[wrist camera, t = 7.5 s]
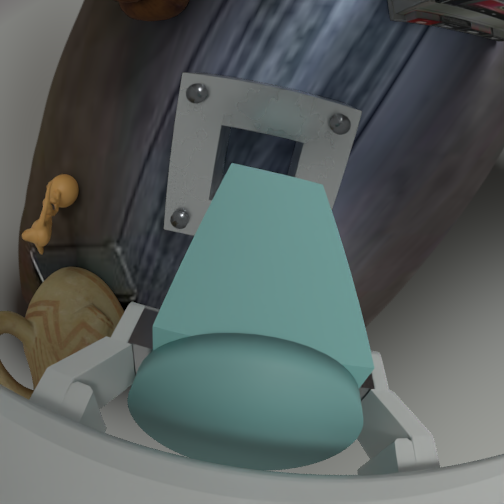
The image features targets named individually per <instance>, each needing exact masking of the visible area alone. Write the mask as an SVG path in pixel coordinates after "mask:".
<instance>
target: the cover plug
mask: <svg viewBox="0 0 504 504" xmlns="http://www.w3.org/2000/svg"><path fill="white" fill-rule="evenodd" d="M373 370H374V364H373V359H372V355H371V350H370V346H369V342H368V337H367V333H366V329H365V325H364V321H363V317H362V313H361V309H360V305H359V301H358V298H357V294H356V290H355V287H354V283H353V279H352V276H351V272H350V269H349V265H348V262H347V258H346V255H345V252H344V248H343V245H342V242H341V239H340V235H339V232H338V229H337V226H336V223H335V219H334V216H333V213H332V210H331V207H330V204H329V201H328V198H327V195H326V192H325V189H324V187H323V185H322V184H319V183H315V182H311V181H307V180H303V179H299V178H295V177H291V176H287V175H283V174H279V173H274V172H270V171H266V170H261V169H257V168H253V167H248V166H243V165H239V164H234V163H231V165H230V167H229V169H228V171H227V173H226V175H225V177H224V178H223V180H222V182H221V184H220V186H219V188H218V190H217V192H216V194H215V196H214V198H213V200H212V202H211V204H210V206H209V208H208V210H207V212H206V214H205V216H204V218H203V220H202V222H201V224H200V226H199V228H198V230H197V232H196V234H195V236H194V238H193V240H192V242H191V244H190V246H189V248H188V250H187V252H186V254H185V256H184V258H183V261H182V263H181V265H180V267H179V269H178V271H177V273H176V275H175V278H174V280H173V282H172V284H171V286H170V288H169V291H168V293H167V295H166V297H165V299H164V302H163V304H162V306H161V308H160V310H159V313H158V315H157V317H156V319H155V322H154V324H153V351H152V352H151V353H150V354H148V356H147V357H146V358H145V359H144V360H143V361H142V363H141V365H140V367H139V369H138V371H137V374H136V376H135V379H134V381H133V384H132V386H131V389H130V391H129V395H128V407H129V411H130V413H131V415H132V417H133V418H134V420H135V422H136V423H137V424H138V425H139V426H140V428H141V429H143V431H145V432H146V433H147V434H148V435H149V436H150V437H152V438H153V439H154V440H156V441H157V442H159V443H160V444H162V445H164V446H166V447H167V448H169V449H171V450H173V451H175V452H177V453H179V454H182V455H184V456H187V457H189V458H192V459H197V460H202V461H207V462H212V463H217V464H223V465H228V466H235V467H241V468H248V469H255V470H282V469H290V468H297V467H302V466H306V465H310V464H314V463H317V462H320V461H323V460H326V459H328V458H330V457H332V456H334V455H336V454H338V453H340V452H342V451H343V450H345V449H346V448H347V447H349V446H350V445H351V444H352V443H353V442H354V441H355V440H356V439H357V438H358V436H359V434H360V433H361V430H362V428H363V411H362V404H361V398H360V391H359V388H360V387H361V385H362V384H363V383H364V381H365V380H366V379H367V378H368V376H369V375H370V374H371V372H372V371H373Z"/></svg>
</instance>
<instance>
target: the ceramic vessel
mask: <svg viewBox="0 0 504 504" xmlns="http://www.w3.org/2000/svg"><path fill="white" fill-rule="evenodd" d="M123 314H124V310H123V308H122V306H121V305H120V303H119V301H118V299H117V298H116V296H115V294H114V293H113V292H112V290H111V289H110V288H109V287H108V285H107V284H106V283H105V282H104V281H103V280H102V279H101V278H99V277H98V276H97V275H95V274H94V273H92V272H90V271H88V270H86V269H83V268H79V267H65V268H62V269H59V270H57V271H55V272H54V273H53V274H51V275H50V276H49V277H48V278H47V279H46V280H45V281H44V282H43V283H42V284H41V285H40V287H39V288H38V290H37V291H36V293H35V294H34V296H33V298H32V300H31V302H30V304H29V307H28V309H27V312H26V316H25V318H24V317H22V316H20V315H19V314H17V313H14V312H11V311H0V335H1V334H3V333H9V334H12V335H14V336H16V337H17V338H18V339H20V340H21V341H22V342H23V346H24V352H25V355H26V358H27V360H28V364H29V367H30V371H31V375H32V380H33V385H34V390H35V388H36V386H37V385H38V383H39V381H40V379H41V378H42V376H43V374H44V373H45V371H46V369H47V367H49V366H51V365H53V364H55V363H57V362H59V361H61V360H63V359H64V358H66V357H68V356H70V355H72V354H74V353H76V352H78V351H79V350H81V349H83V348H85V347H87V346H89V345H91V344H93V343H95V342H96V341H98V340H100V339H102V338H104V337H106V336H107V337H111V336H112V334H113V332H114V330H115V328H116V326H117V324H118V323H119V321H120V319H121V317H122V315H123ZM0 384H1V385H3V386H5V387H6V388H8V389H10V390H12V391H13V392H15V393H17V394H19V395H21V396H23V397H25V398H26V399H28V400H29V399H30V397H31V395H32V394H33V392H34V390H31V389H28V388H26V387H24V386H22V385H21V384H19V383H18V382H17V381H16V380H15V379H14V378H13V377H12V376H11V375H10V374H9V372H8V371H7V370H6V369H5V367H4V366H3V364H2V362H1V361H0Z"/></svg>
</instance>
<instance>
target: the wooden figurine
mask: <svg viewBox="0 0 504 504" xmlns="http://www.w3.org/2000/svg"><path fill="white" fill-rule="evenodd" d="M114 1H118V2H119V5H120V7H121V9H122V10H123V11H124V12H125V13H126V14H127V15H128V16H129V17H131V18H133V19H136V20H143V21H158V20H167V19H170V18H172V17H175V16H177V15H178V14H180V13H181V12H182V11H183V10H184V9H185V8H186V6H187V4H188V2H189V0H114Z"/></svg>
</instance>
